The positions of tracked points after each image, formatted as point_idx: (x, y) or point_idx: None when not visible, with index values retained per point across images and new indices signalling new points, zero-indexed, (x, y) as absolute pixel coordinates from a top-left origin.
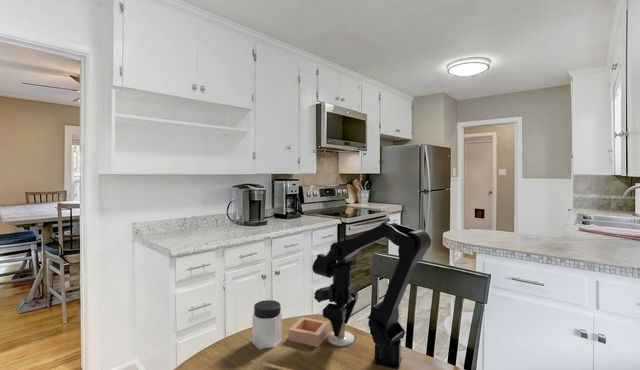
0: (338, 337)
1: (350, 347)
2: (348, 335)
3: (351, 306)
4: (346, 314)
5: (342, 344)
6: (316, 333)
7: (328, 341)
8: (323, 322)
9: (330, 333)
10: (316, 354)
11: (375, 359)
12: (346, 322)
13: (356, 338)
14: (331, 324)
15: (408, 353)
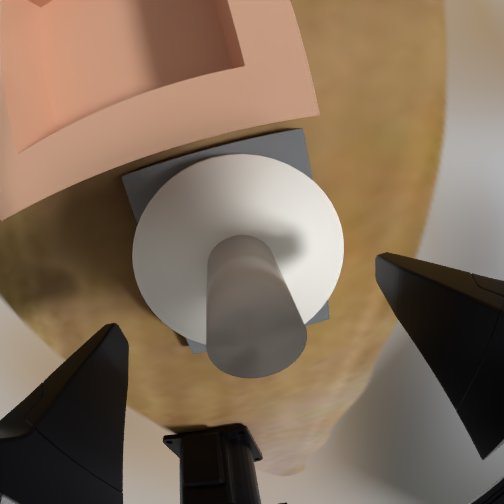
0: (206, 269)
1: (191, 348)
2: (292, 297)
3: (477, 419)
4: (429, 327)
5: (164, 320)
6: (10, 181)
7: (146, 205)
8: (265, 60)
9: (237, 165)
10: (17, 226)
11: (182, 438)
12: (381, 286)
13: (309, 324)
14: (26, 398)
15: (306, 449)
